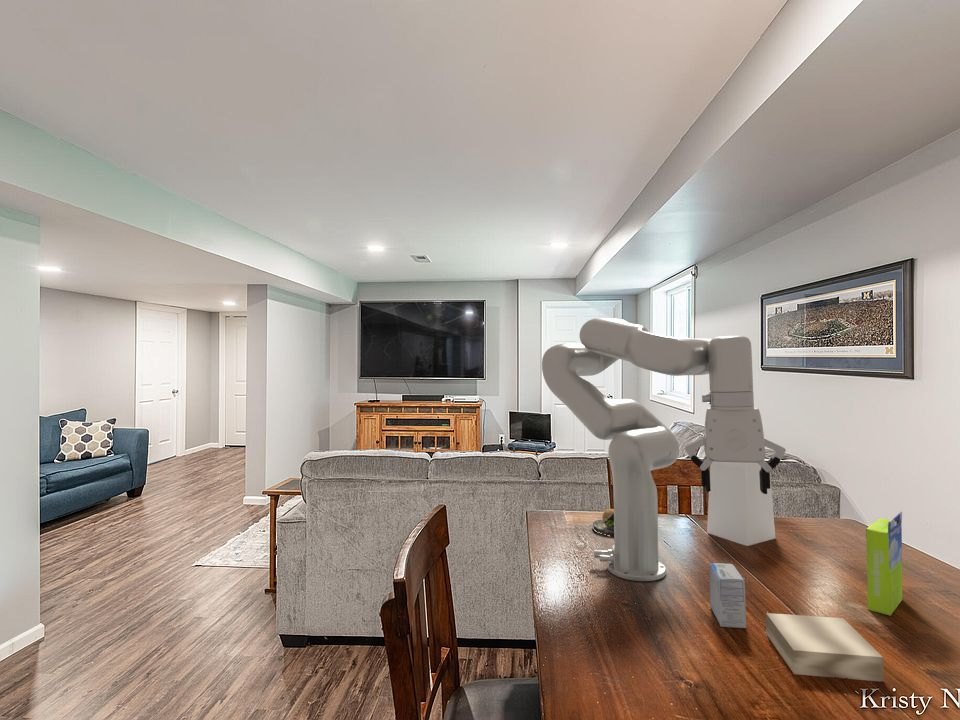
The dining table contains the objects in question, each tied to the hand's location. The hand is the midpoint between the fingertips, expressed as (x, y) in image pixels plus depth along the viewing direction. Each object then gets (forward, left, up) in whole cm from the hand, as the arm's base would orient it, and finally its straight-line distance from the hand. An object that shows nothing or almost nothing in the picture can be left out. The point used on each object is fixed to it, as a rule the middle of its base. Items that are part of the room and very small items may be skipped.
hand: (735, 491), depth 101 cm
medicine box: (-3, -4, -23) cm, 23 cm away
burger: (-20, +45, -23) cm, 54 cm away
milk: (+13, +45, -23) cm, 52 cm away
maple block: (+8, -15, -23) cm, 28 cm away
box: (+28, +6, -23) cm, 37 cm away
